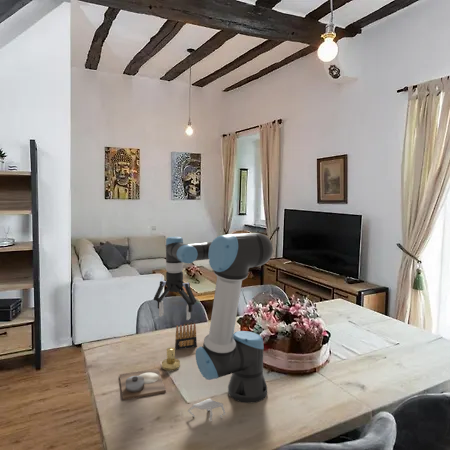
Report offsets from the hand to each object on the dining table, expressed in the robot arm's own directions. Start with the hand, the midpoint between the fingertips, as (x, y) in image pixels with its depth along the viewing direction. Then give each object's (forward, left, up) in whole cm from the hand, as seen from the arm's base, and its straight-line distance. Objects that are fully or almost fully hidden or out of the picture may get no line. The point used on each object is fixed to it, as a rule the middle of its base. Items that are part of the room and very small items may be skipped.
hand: (174, 317), depth 164 cm
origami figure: (-44, -1, -21) cm, 49 cm away
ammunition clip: (+12, -8, -21) cm, 25 cm away
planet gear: (-5, +3, -21) cm, 21 cm away
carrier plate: (-16, +17, -20) cm, 31 cm away
